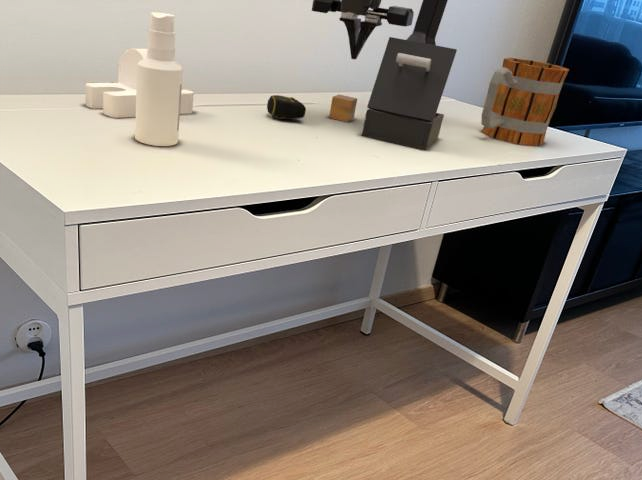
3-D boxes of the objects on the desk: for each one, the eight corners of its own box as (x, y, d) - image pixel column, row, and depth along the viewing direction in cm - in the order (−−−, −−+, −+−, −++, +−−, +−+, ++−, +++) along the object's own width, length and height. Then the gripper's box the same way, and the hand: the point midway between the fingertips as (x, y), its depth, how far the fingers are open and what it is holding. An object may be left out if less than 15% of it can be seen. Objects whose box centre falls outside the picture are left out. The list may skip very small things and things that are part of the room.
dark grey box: (378, 125, 137) (383, 101, 135) (437, 138, 134) (444, 114, 131) (361, 135, 127) (366, 109, 124) (425, 150, 123) (432, 124, 121)
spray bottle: (184, 141, 107) (193, 17, 97) (166, 149, 101) (174, 19, 92) (146, 132, 108) (152, 9, 99) (126, 140, 103) (130, 10, 93)
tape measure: (304, 123, 130) (308, 103, 128) (272, 121, 127) (275, 101, 125) (292, 115, 135) (295, 95, 133) (261, 112, 133) (264, 93, 131)
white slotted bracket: (194, 113, 125) (199, 54, 119) (112, 118, 113) (113, 53, 108) (164, 101, 130) (167, 44, 125) (83, 104, 119) (82, 42, 113)
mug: (506, 128, 153) (528, 58, 145) (556, 144, 144) (583, 71, 137) (451, 130, 143) (472, 55, 135) (501, 148, 134) (527, 69, 126)
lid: (389, 38, 123) (387, 27, 119) (456, 50, 120) (456, 40, 116) (367, 108, 125) (364, 99, 120) (433, 122, 121) (432, 114, 117)
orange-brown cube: (334, 114, 141) (338, 94, 138) (353, 119, 139) (357, 98, 137) (328, 117, 137) (332, 96, 135) (347, 122, 136) (351, 100, 134)
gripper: (309, -40, 118) (296, 54, 127) (410, -25, 113) (390, 72, 122) (327, -39, 127) (314, 49, 136) (422, -25, 122) (403, 66, 131)
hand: (353, 59), depth 131 cm, fingers closed
